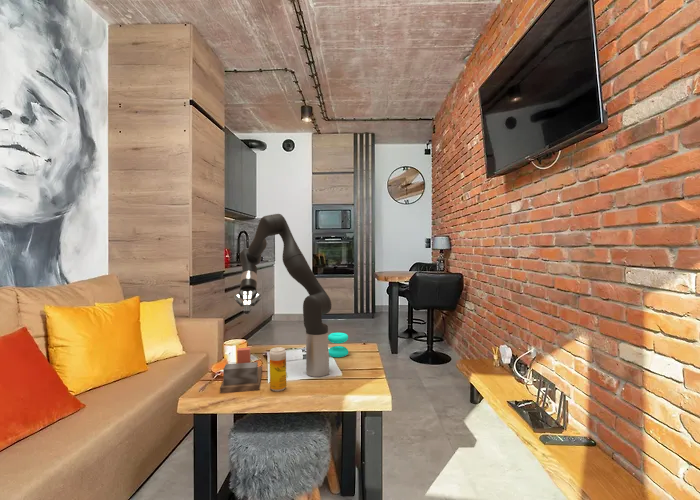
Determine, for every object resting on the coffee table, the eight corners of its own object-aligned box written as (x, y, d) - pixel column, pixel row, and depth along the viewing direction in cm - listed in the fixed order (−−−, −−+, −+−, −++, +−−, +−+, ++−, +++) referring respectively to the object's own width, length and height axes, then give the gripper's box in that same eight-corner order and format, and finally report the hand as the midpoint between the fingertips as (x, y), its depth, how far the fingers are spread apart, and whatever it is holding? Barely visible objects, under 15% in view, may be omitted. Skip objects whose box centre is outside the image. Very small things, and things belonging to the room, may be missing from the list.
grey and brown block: (262, 371, 158) (261, 352, 158) (259, 390, 139) (258, 369, 138) (228, 373, 156) (227, 354, 156) (220, 393, 136) (219, 371, 136)
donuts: (326, 332, 183) (345, 331, 185) (326, 352, 183) (345, 351, 185) (329, 337, 173) (350, 336, 175) (329, 359, 173) (350, 357, 176)
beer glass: (282, 392, 136) (282, 352, 136) (267, 391, 138) (266, 351, 137) (288, 386, 142) (288, 347, 142) (273, 384, 144) (273, 346, 143)
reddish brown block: (250, 368, 155) (250, 347, 155) (250, 371, 152) (249, 349, 152) (238, 369, 154) (237, 348, 154) (237, 372, 151) (237, 350, 151)
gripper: (233, 278, 175) (230, 308, 163) (262, 277, 177) (261, 307, 165) (235, 287, 180) (232, 318, 168) (263, 286, 182) (262, 316, 171)
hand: (246, 312), depth 167 cm, fingers closed
